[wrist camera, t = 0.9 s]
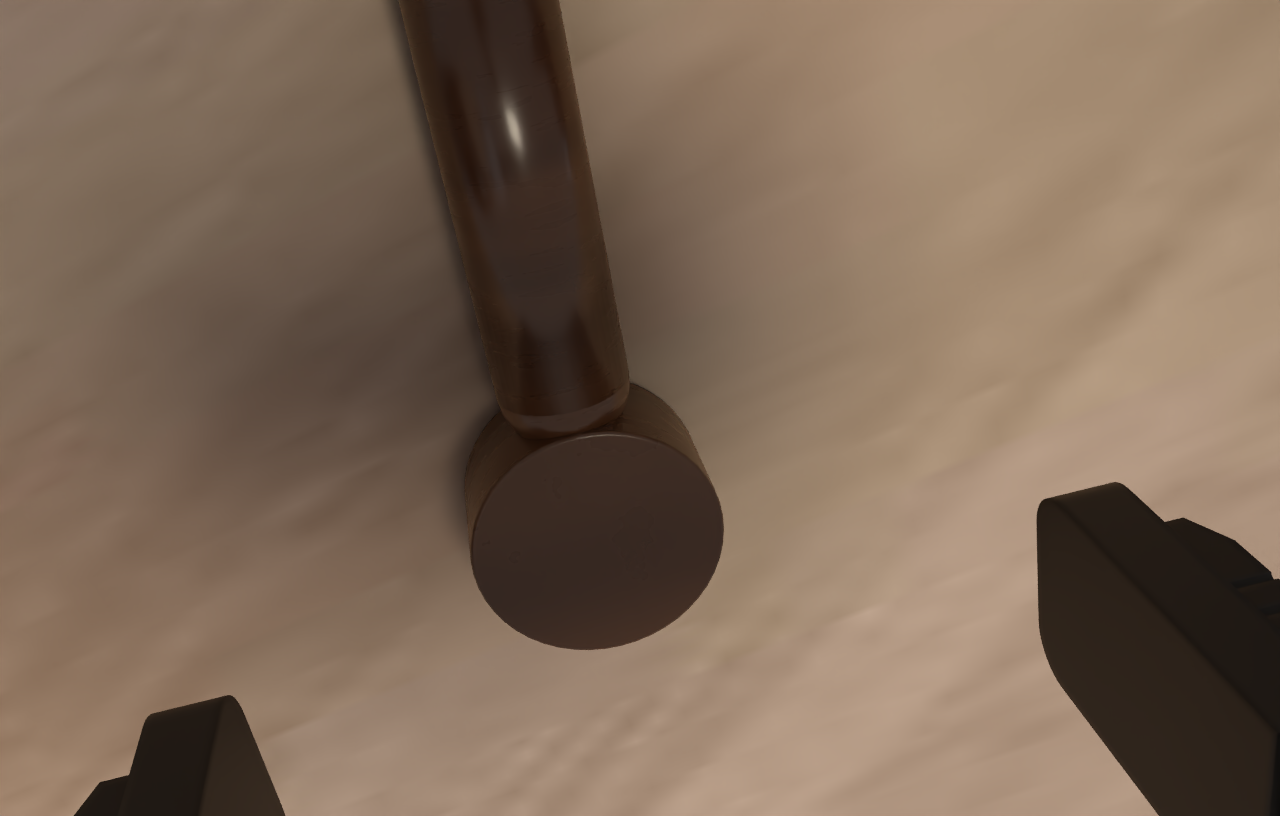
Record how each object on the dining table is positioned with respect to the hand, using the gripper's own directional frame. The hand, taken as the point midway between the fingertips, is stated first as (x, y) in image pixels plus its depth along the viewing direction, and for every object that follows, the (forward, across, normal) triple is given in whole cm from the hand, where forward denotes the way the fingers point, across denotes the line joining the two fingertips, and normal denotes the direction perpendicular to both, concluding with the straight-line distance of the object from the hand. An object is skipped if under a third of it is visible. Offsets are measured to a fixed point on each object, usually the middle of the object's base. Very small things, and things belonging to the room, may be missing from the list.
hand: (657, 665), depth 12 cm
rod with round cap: (+13, 0, 0) cm, 13 cm away
